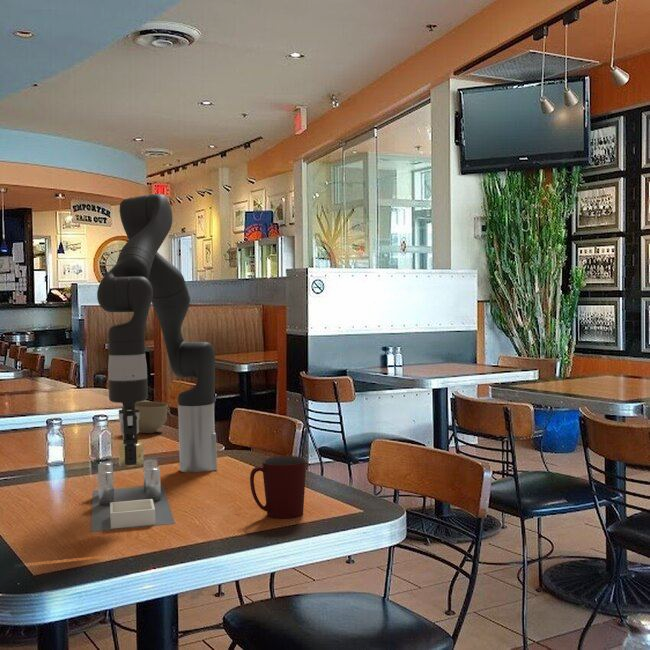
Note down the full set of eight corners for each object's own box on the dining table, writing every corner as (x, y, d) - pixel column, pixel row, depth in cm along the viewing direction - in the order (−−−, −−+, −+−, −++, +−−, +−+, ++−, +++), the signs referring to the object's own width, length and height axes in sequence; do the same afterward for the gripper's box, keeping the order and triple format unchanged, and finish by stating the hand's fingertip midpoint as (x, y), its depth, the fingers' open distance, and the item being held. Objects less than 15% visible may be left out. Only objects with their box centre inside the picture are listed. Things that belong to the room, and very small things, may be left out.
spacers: (157, 488, 188) (157, 458, 188) (161, 501, 177) (160, 469, 176) (99, 493, 185) (98, 463, 185) (98, 506, 173) (97, 474, 173)
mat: (163, 486, 192) (163, 484, 192) (175, 526, 159) (175, 523, 159) (93, 492, 188) (93, 490, 188) (90, 534, 155) (90, 531, 155)
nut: (143, 460, 164) (142, 441, 164) (143, 465, 160) (143, 445, 159) (119, 462, 163) (118, 442, 163) (118, 467, 159) (118, 447, 158)
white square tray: (152, 513, 167) (152, 498, 167) (155, 524, 159) (155, 509, 159) (110, 517, 165) (110, 502, 165) (110, 528, 157) (110, 513, 157)
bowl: (164, 435, 262) (163, 405, 262) (125, 436, 262) (124, 405, 262) (172, 429, 275) (171, 399, 274) (135, 429, 275) (134, 400, 274)
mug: (261, 524, 159) (260, 469, 158) (242, 514, 166) (241, 461, 166) (314, 515, 165) (313, 461, 164) (294, 505, 172) (292, 454, 172)
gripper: (149, 379, 155) (151, 467, 155) (145, 372, 169) (147, 454, 169) (108, 381, 153) (111, 470, 153) (108, 374, 167) (110, 456, 167)
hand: (130, 461), depth 161 cm, fingers closed on nut, 4 cm apart
